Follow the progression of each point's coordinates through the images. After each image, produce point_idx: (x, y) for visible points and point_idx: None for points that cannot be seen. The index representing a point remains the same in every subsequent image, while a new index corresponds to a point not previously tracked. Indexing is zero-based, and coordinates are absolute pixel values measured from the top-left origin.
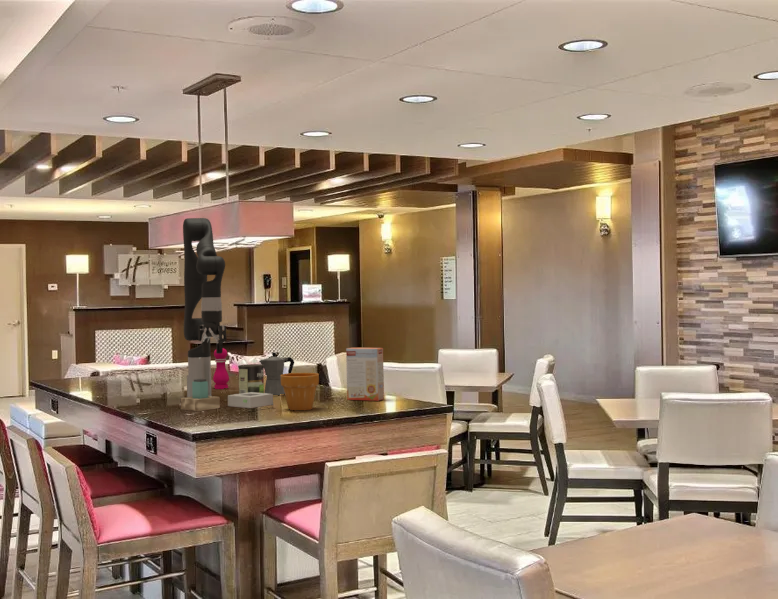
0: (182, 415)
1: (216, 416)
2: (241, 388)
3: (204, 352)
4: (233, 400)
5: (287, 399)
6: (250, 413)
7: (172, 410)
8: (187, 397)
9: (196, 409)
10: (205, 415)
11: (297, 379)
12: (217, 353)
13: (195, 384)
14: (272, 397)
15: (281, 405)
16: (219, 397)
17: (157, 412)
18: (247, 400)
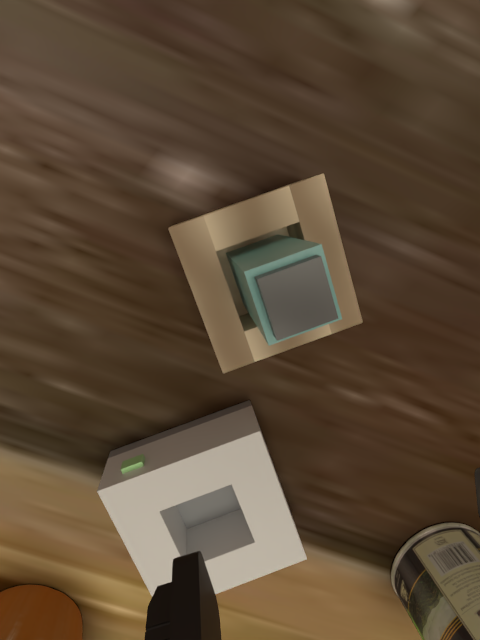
0: (164, 127)
1: (17, 256)
2: (469, 568)
3: (477, 475)
4: (217, 433)
5: (5, 620)
6: (26, 423)
7: (377, 163)
8: (328, 219)
9: (190, 219)
10: (88, 226)
11: None
12: (189, 555)
13: (282, 254)
14: None
15: None
16: (222, 371)
17: (363, 65)
18: (120, 473)
